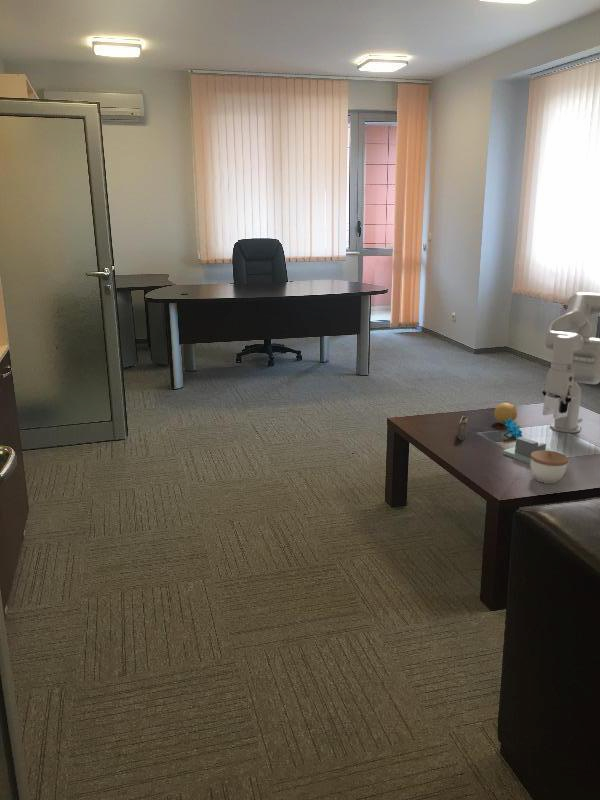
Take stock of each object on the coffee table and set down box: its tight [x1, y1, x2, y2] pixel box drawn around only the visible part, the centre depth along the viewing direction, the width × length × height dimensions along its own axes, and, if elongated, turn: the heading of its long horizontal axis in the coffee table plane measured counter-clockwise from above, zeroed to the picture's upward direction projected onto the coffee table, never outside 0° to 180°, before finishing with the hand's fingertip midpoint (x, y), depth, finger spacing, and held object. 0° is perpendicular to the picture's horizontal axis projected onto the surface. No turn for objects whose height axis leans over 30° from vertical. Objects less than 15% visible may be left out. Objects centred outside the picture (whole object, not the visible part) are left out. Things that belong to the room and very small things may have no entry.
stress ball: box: [494, 402, 518, 426], centre depth 296 cm, size 10×10×10 cm
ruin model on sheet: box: [457, 415, 470, 441], centre depth 279 cm, size 11×3×10 cm, turn 159°
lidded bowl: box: [529, 450, 569, 484], centre depth 233 cm, size 13×13×11 cm
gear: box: [504, 419, 523, 439], centre depth 281 cm, size 11×6×10 cm
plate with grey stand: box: [502, 436, 567, 465], centre depth 257 cm, size 18×16×8 cm
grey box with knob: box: [542, 394, 569, 419], centre depth 259 cm, size 7×6×8 cm
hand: (555, 409), depth 259 cm, fingers closed on grey box with knob, 6 cm apart
